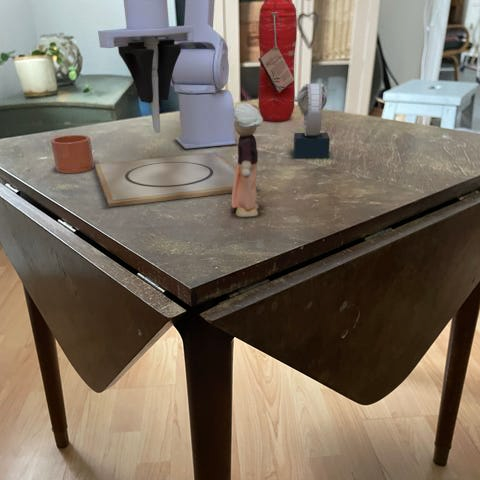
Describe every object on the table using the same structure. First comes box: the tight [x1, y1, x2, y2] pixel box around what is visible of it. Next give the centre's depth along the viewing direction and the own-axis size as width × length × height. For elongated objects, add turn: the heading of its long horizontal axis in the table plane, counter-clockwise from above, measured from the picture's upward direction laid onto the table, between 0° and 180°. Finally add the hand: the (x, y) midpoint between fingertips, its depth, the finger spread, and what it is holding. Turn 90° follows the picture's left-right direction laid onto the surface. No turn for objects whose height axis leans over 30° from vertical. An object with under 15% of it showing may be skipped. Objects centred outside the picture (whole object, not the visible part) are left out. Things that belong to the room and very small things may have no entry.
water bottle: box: [257, 0, 298, 123], centre depth 109 cm, size 12×8×25 cm, turn 168°
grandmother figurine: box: [230, 102, 264, 218], centre depth 64 cm, size 8×4×13 cm, turn 5°
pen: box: [141, 36, 161, 134], centre depth 77 cm, size 2×3×14 cm
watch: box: [293, 83, 331, 159], centre depth 88 cm, size 6×8×11 cm
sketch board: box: [94, 152, 236, 208], centre depth 80 cm, size 20×20×1 cm
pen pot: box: [50, 134, 95, 174], centre depth 85 cm, size 6×6×4 cm
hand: (154, 100), depth 78 cm, fingers closed on pen, 2 cm apart
